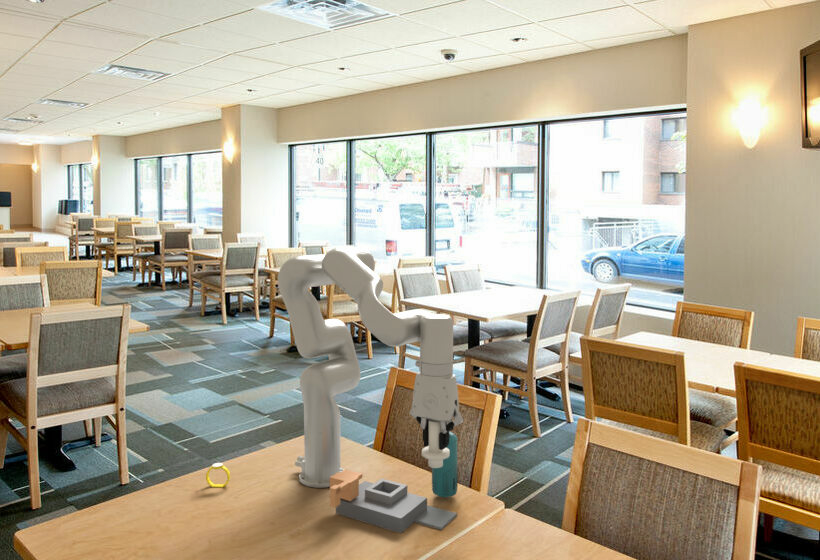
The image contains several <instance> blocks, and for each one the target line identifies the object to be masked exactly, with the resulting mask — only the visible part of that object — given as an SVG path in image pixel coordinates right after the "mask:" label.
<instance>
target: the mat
mask: <svg viewBox="0 0 820 560" xmlns="http://www.w3.org/2000/svg"><path fill="white" fill-rule="evenodd" d="M457 516H458V513H457V512H454V511H451V510H446V509H443V508H440V507H435V506H432V505H429V504H427V510H426V511H424V512H423V513H422V514H421V515H420V516H418V517H417V518H416V519H415V520H414V523H416V524H420V525H423V526H426V527H430V528H432V527H433V529H435V530H436V529H437V530H439V531H442V530H443V529H444V528H445V527H446V526H448V525H449V522H450V523H451V522H452V521H453V520H454V519H455V518H456V517H457Z"/></svg>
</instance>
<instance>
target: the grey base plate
mask: <svg viewBox="0 0 820 560" xmlns="http://www.w3.org/2000/svg"><path fill="white" fill-rule="evenodd" d="M427 505H428V497H427V496H421V495H418V494H414V493H410V492H408V484H404V483H401V482H396V481H393V480H389V479H385V478H380V479H379V480H377V481H376V482H374V483H373V482H370V481H367V480H364V481H362V482H361V483H359V496H357V497H356V498H354V499H353V500H351V501H348V500H345V499H341V498H340V505H338V506H337V507H335V514H336V515H340V516H343V517H347V518H350V519H353V520H356V521H360V522H363V523H366V524H369V525H372V526H377V527H379V528H382V529H386V530H389V531H391V532H396V533H399V534H402V533H403V532H404V531H406V530H407V529H408V528H410V527H411V526H412V525H413V524H414V523H415V522H414V520H415V519H416V518H417V517H418V516H420V515H421V514H422V513H423V512H424V511H426V510H427Z"/></svg>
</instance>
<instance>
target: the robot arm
mask: <svg viewBox="0 0 820 560" xmlns="http://www.w3.org/2000/svg"><path fill="white" fill-rule="evenodd" d="M375 263H376V262H375V259H374V256H373V255H372V253H371V252H370V251H369V249H367V248H365V247H363V246H362V247H361V246H347V247H345V246H344V247H343V246H342V247H337V248H332V249H331V250H329V251H327V252H326V253H320V254H319V253H318V254H306V255H305V254H304V255H298V256H293V257H292V258H291V257H290V258H288V259H287V260H286V261H284V263H283V264H282V265H281V267H280V269H279V271H278V277H277V284H278V291H279V292H280V293H279V294H280V297H281V298H282V301H283V304H284V306H285V308H286V311H287V313H288V318H289V322H290V326H291V329H292V334H293V338H294V343H295V346H296V349H297V351H298V353H299V354H300V356H301V357H302V358H304V359H315V358H320V357H325V356H328V359H327V360H323V361H319V362H316V363H313V364H311V365H309V366H307V367H305V368H304V370H303V371H302V372H301V374H300V377H299V385H300V392H301V396H302V397H301V398H302V403H303V424H304V426H303V428H304V430H303V431H304V434H303V435H304V438H303V439H304V456H302V455H298V456H297V458H296V460H295V462H294V466H295V467H299V468H301V471H300V472H299V475H298V480H299V482H300V483H301V484H302V485H303V486H306V487H309V488H310V487H311V488H317V489H318V488H319V489H322V488H330V477H331V476H333V475H334V474H336V473H338V472H342V471H344V470H345V469H344V468H342V467H341V464H342V462H341V460H342V459H341V453H342V452H341V450H342V449H341V446H342V445H341V411H340V407H339V406H338V403H337V402H336V400H335V396H339V395H340V394H342V393H346V392H350V391H351V390H354V389H355V388H356V387H357V386H358V385H359V383H360V380H361V367H360V363H359V360H358V355H357V352H356V348H355V345H354V340H353V337H352V334H351V331H350V329H349V327H348V326H347V324H346V323H344V321H342V320H340V319H338V318H327V319H324V317H323V314H322V311H321V306H320V303H319V302H318V300H317V299H316V297H315V296H314V294H312V293H311V291H310V290H309V288H313V287H322V286H329V285H332V286H333V285H337V286H338V287H339V289H341V290H342V291H343V292H344V293H345V294H346V295H347V296H348V297H349V298H351V299H352V300H353V301H354V302H355V303H356V304H357V311H358V314H359V318H360V320H361V322H362V324H363V326H364V327H365V328H366V329H367V330H368V331H369V332H370V333H371V334H372V335H373V336H374V337H375V338H376V339H377V340H379V341H380V342H381V343H382V344H385V345H386V346H389V347H395V348H397V347H401V346H406V345H408V344H412V343H416V342H419V360H416V361H415V362H414V363H415V367H416V368H417V367H418V368H419V369H418V371H419V372H417V373H416V376H415V379H414V385H413V393H412V404H411V405H412V406H411V409H410V411H409V415H410V416H411V417H413V418H414V419H415V420H416V421H417V422H418V424H419V425H420V429H422V442H423V447H424V448H425V447H427V446H428V433H429V420H427V419H432V420H438V421H440V422H441V432H440V433H439V449H440V450H443V449H445V448H446V447H447V446H448V445H449V432H450V431H449V430H451V429H452V428H453V429H454V427H457V426H459V425H460V424H462V423H463V422H464V419H463V416H462V414H461V412H460V408H459V407H460V404H459V403H460V402H459V401H460V400H459V389H458V383H457V382H458V381H457V377H456V375H455V374H454V361H453V360H454V320H453V317H452V316H451V315H448V314H445V313H431V312H429V311H425V310H422V309H410V310H404V311H399V312H394V313H393V312H392V311H390V310H389V309H388V308H387V307H386V306H384V304H382V303H381V301H380V300H379V299H378V298H379V297H380V296H381V293H382V291H383V290H384V281H383V279H382V278H381V277H380V276H379V275H378V274H377V273H376V272H374V270H375ZM453 418H454V419H453ZM451 420H452V421H451ZM451 431H452V430H451Z"/></svg>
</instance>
